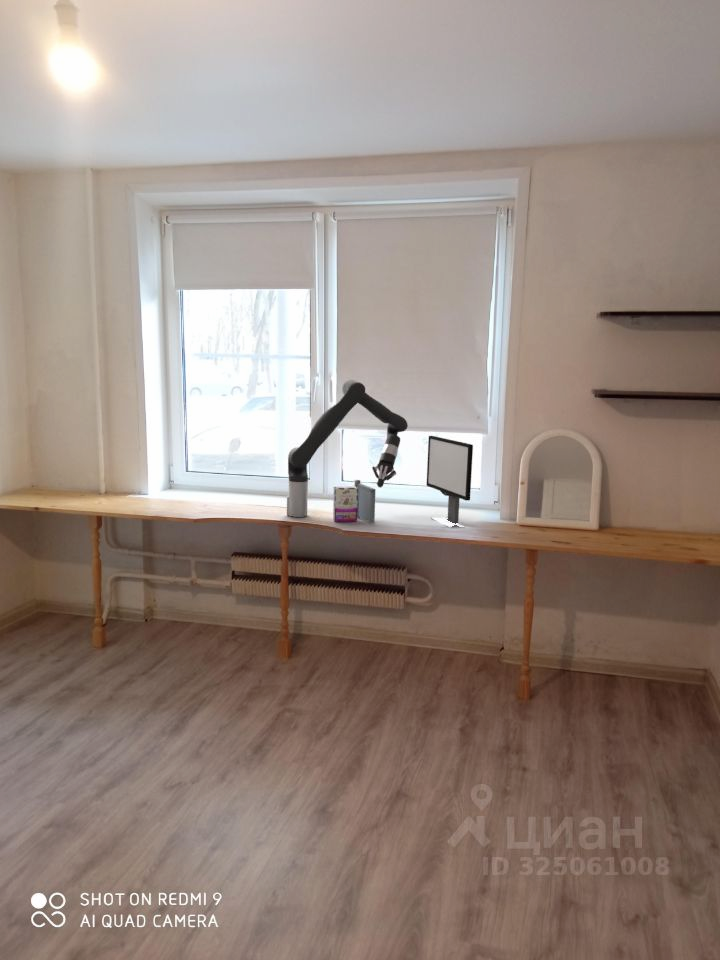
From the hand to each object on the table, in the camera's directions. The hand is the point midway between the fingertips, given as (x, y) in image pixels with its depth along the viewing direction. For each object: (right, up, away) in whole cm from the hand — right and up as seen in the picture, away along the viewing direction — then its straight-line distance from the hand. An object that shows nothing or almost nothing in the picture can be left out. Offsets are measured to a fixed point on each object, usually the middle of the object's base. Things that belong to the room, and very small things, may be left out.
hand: (379, 486), depth 344 cm
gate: (-7, -15, -11) cm, 20 cm away
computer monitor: (+32, -17, -9) cm, 38 cm away
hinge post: (-12, -15, -1) cm, 19 cm away
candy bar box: (-17, -16, -12) cm, 26 cm away
